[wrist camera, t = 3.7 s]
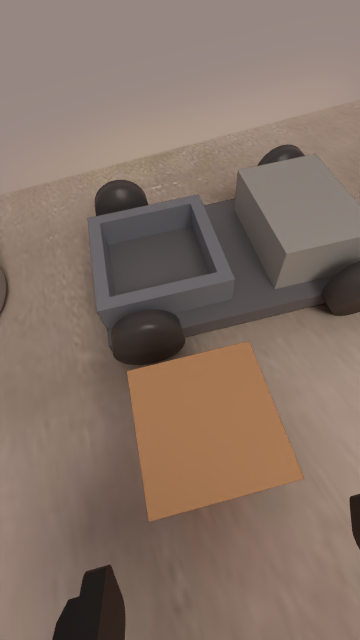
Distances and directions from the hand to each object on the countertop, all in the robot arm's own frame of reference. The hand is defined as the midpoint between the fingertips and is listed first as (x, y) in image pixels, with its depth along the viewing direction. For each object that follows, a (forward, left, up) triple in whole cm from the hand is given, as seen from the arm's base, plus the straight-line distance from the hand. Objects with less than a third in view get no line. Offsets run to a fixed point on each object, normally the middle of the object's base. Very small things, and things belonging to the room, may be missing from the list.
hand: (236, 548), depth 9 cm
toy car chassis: (-6, -19, -9) cm, 22 cm away
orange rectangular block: (0, -4, -9) cm, 10 cm away
